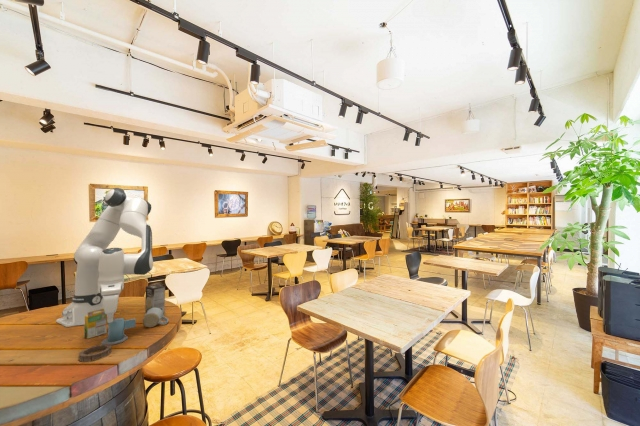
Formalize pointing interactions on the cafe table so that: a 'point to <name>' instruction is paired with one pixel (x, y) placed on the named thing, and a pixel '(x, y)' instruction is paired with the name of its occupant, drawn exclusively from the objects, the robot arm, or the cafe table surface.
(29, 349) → the cafe table surface
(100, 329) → the crayon box
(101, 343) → the coaster
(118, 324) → the blue pot
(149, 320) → the ceramic mug
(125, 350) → the cafe table surface
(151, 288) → the coffee box
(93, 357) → the ring holder
